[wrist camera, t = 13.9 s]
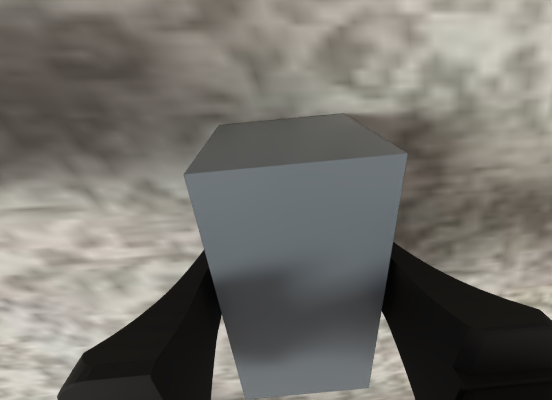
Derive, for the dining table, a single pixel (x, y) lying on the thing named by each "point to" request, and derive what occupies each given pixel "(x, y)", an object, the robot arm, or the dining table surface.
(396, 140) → the dining table surface
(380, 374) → the dining table surface
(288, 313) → the grey rectangular prism
